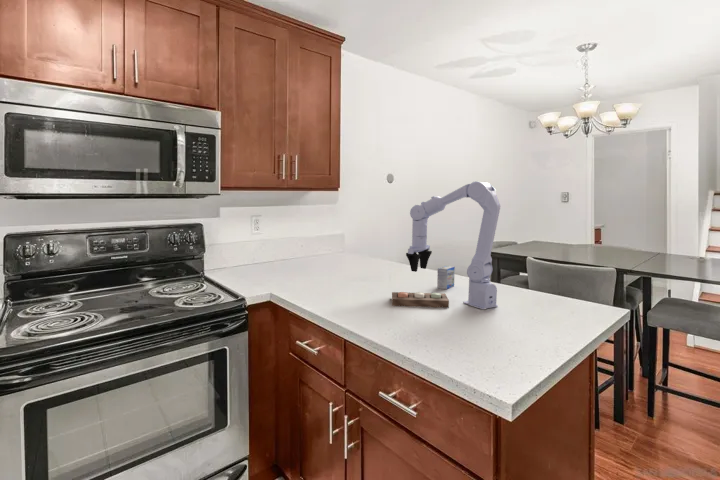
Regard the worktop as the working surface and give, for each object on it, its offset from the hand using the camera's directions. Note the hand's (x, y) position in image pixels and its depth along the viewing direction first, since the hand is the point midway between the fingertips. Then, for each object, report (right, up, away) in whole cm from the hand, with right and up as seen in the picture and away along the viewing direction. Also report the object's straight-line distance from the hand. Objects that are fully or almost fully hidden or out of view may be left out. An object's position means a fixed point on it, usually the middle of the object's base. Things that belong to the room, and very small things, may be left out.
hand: (418, 269), depth 156 cm
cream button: (-2, -11, -12) cm, 16 cm away
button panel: (-2, -11, -12) cm, 16 cm away
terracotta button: (-8, -11, -11) cm, 18 cm away
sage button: (+4, -11, -12) cm, 17 cm away
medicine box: (+14, -9, +13) cm, 21 cm away
